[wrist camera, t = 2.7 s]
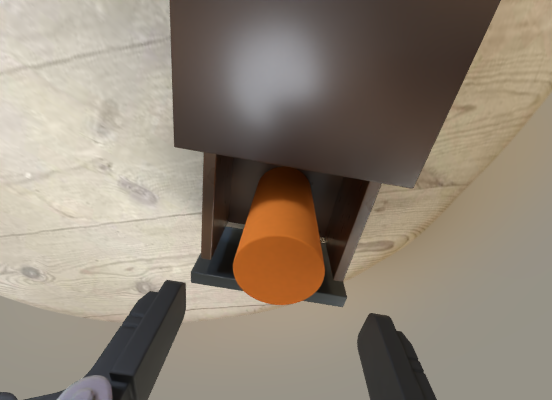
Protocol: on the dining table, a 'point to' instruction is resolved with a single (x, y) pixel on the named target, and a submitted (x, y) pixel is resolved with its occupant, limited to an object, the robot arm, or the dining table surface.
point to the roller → (280, 241)
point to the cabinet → (322, 80)
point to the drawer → (236, 205)
